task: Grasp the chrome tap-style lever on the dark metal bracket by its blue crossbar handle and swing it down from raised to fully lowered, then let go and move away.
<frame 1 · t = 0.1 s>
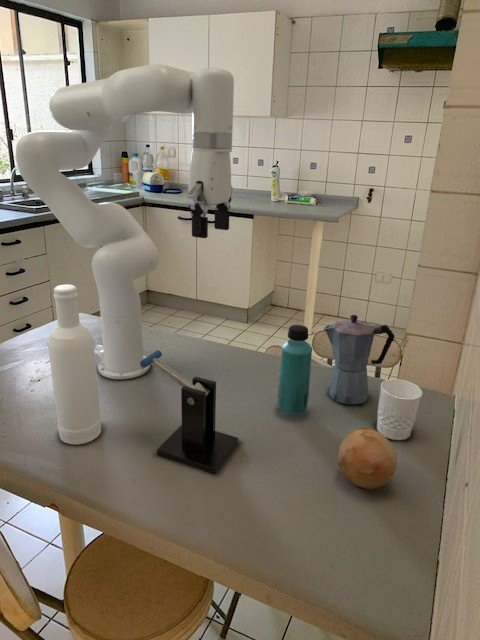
hand: (211, 233, 94), 37 cm above the table, tool pointing down, fingers open, 9 cm apart
beverage bottle: (291, 413, 100), on the table
bracket: (198, 448, 88), on the table
bottle: (80, 433, 91), on the table
onion: (363, 481, 81), on the table
white cup: (393, 431, 95), on the table
moka pot: (349, 396, 108), on the table
lever: (176, 377, 84), point 14 cm above the table, hinge at 25.0°
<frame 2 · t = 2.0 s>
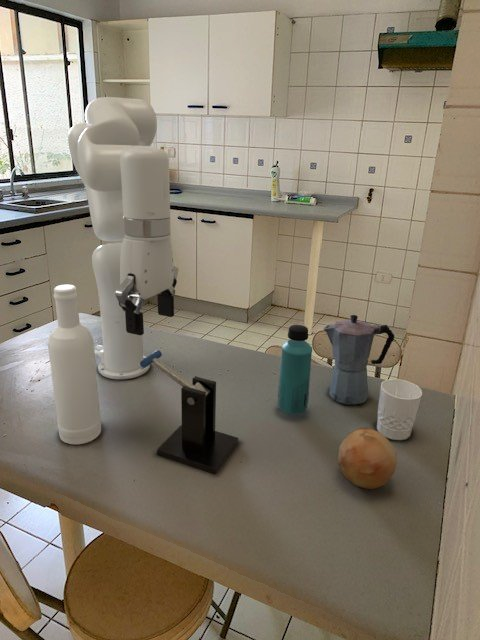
hand: (151, 324, 82), 24 cm above the table, tool pointing down, fingers open, 9 cm apart
nothing on the table moved.
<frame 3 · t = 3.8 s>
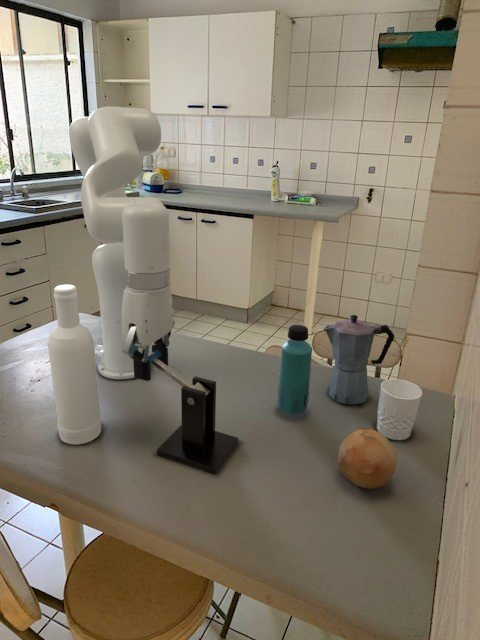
hand: (151, 371, 86), 14 cm above the table, tool pointing down, fingers closed on lever, 5 cm apart
lever: (176, 377, 84), point 14 cm above the table, hinge at 25.0°, touching gripper
everything else where it was.
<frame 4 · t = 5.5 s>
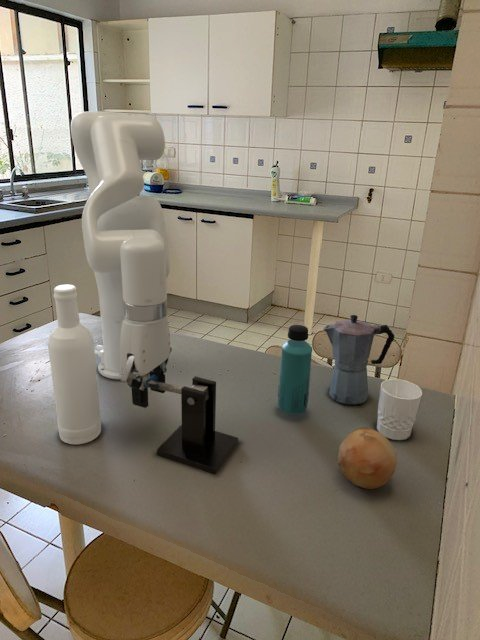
hand: (149, 397, 88), 8 cm above the table, tool pointing down, fingers closed on lever, 5 cm apart
lever: (174, 388, 85), point 12 cm above the table, hinge at -4.1°, touching gripper
everything else where it was.
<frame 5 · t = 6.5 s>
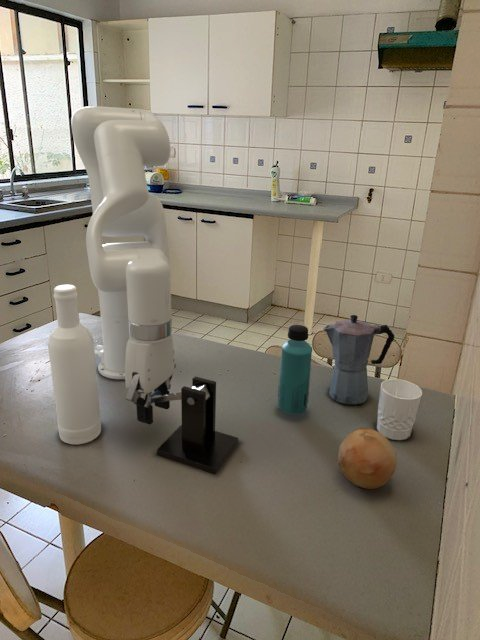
hand: (153, 413, 89), 5 cm above the table, tool pointing down, fingers closed on lever, 5 cm apart
lever: (176, 396, 86), point 10 cm above the table, hinge at -21.5°, touching gripper
everything else where it was.
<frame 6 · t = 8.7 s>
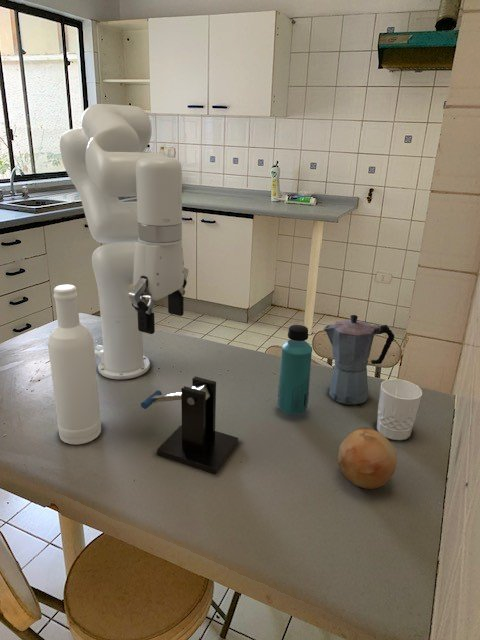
hand: (161, 322, 87), 22 cm above the table, tool pointing down, fingers open, 9 cm apart
lever: (176, 396, 86), point 10 cm above the table, hinge at -21.7°
everything else where it was.
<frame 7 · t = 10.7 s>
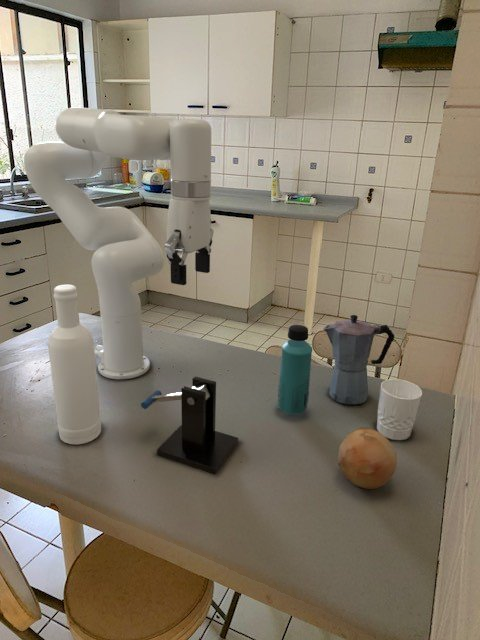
hand: (191, 277, 94), 28 cm above the table, tool pointing down, fingers open, 9 cm apart
nothing on the table moved.
at the end: lever at -22° (first picture: +25°) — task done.
